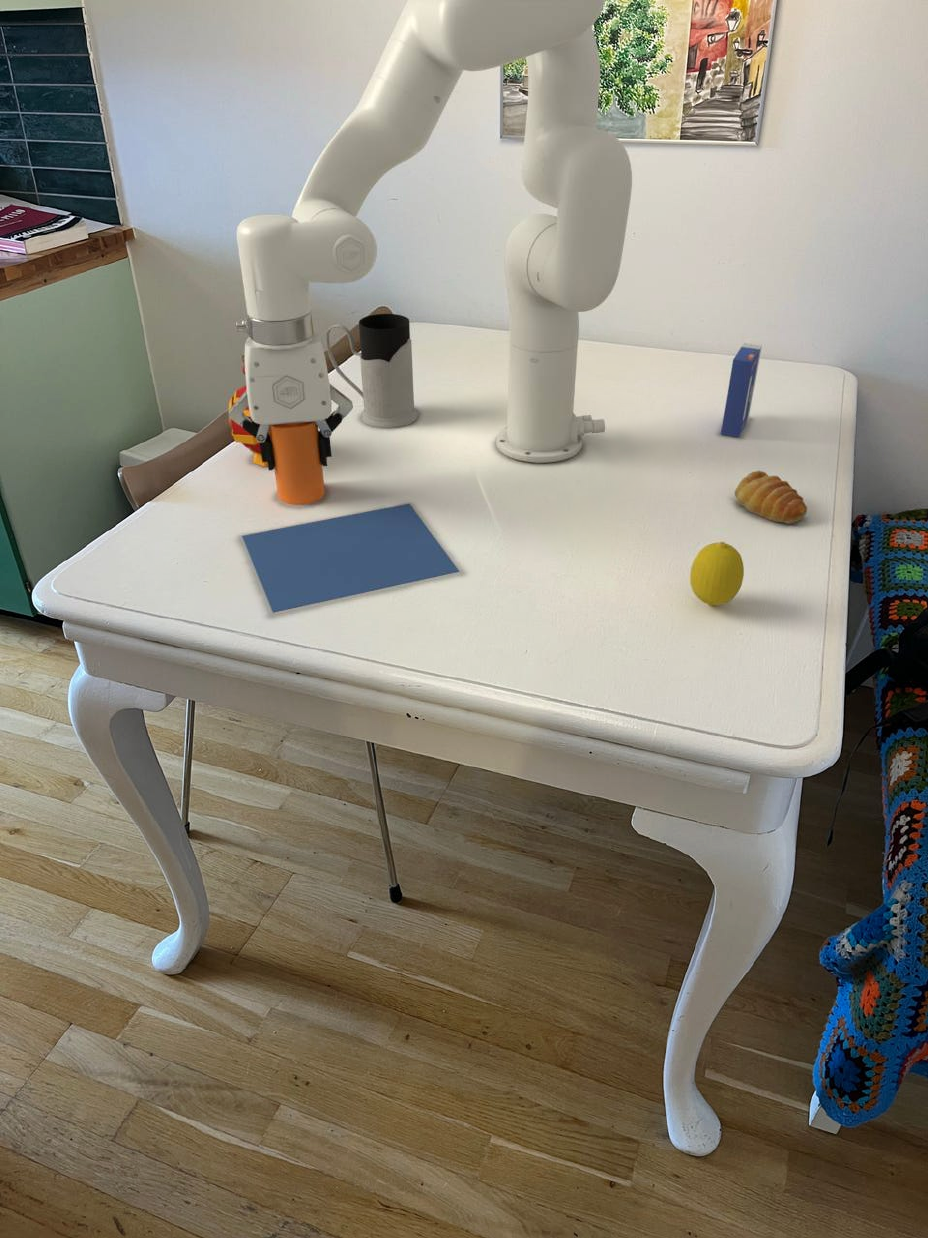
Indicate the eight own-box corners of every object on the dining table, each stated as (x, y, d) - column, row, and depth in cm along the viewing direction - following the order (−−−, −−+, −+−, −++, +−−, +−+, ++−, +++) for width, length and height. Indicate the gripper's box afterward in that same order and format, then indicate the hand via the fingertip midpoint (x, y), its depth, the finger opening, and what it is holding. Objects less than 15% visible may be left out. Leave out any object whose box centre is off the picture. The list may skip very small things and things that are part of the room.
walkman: (739, 438, 138) (753, 359, 131) (720, 434, 139) (733, 356, 132) (749, 418, 144) (763, 342, 137) (731, 415, 145) (744, 339, 138)
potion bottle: (292, 477, 128) (279, 372, 120) (223, 470, 130) (205, 367, 121) (317, 445, 137) (306, 345, 128) (251, 440, 138) (236, 341, 130)
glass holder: (405, 430, 141) (400, 333, 132) (320, 419, 145) (310, 323, 136) (425, 409, 148) (422, 315, 139) (344, 399, 151) (336, 306, 143)
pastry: (817, 518, 118) (824, 491, 116) (780, 532, 115) (786, 505, 113) (763, 489, 124) (768, 463, 122) (726, 502, 122) (730, 476, 119)
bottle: (323, 483, 127) (311, 365, 117) (326, 504, 122) (313, 383, 112) (278, 487, 126) (262, 369, 116) (278, 508, 121) (261, 387, 111)
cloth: (409, 505, 121) (409, 503, 121) (459, 573, 108) (459, 571, 108) (242, 537, 115) (241, 535, 115) (273, 614, 101) (272, 612, 101)
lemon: (680, 592, 104) (689, 531, 100) (727, 590, 105) (739, 528, 100) (694, 621, 100) (704, 557, 95) (744, 618, 100) (757, 555, 95)
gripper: (206, 342, 107) (229, 482, 117) (355, 333, 109) (366, 471, 119) (209, 322, 113) (231, 457, 123) (351, 313, 115) (361, 446, 125)
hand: (297, 462), depth 121 cm, fingers closed on bottle, 6 cm apart
